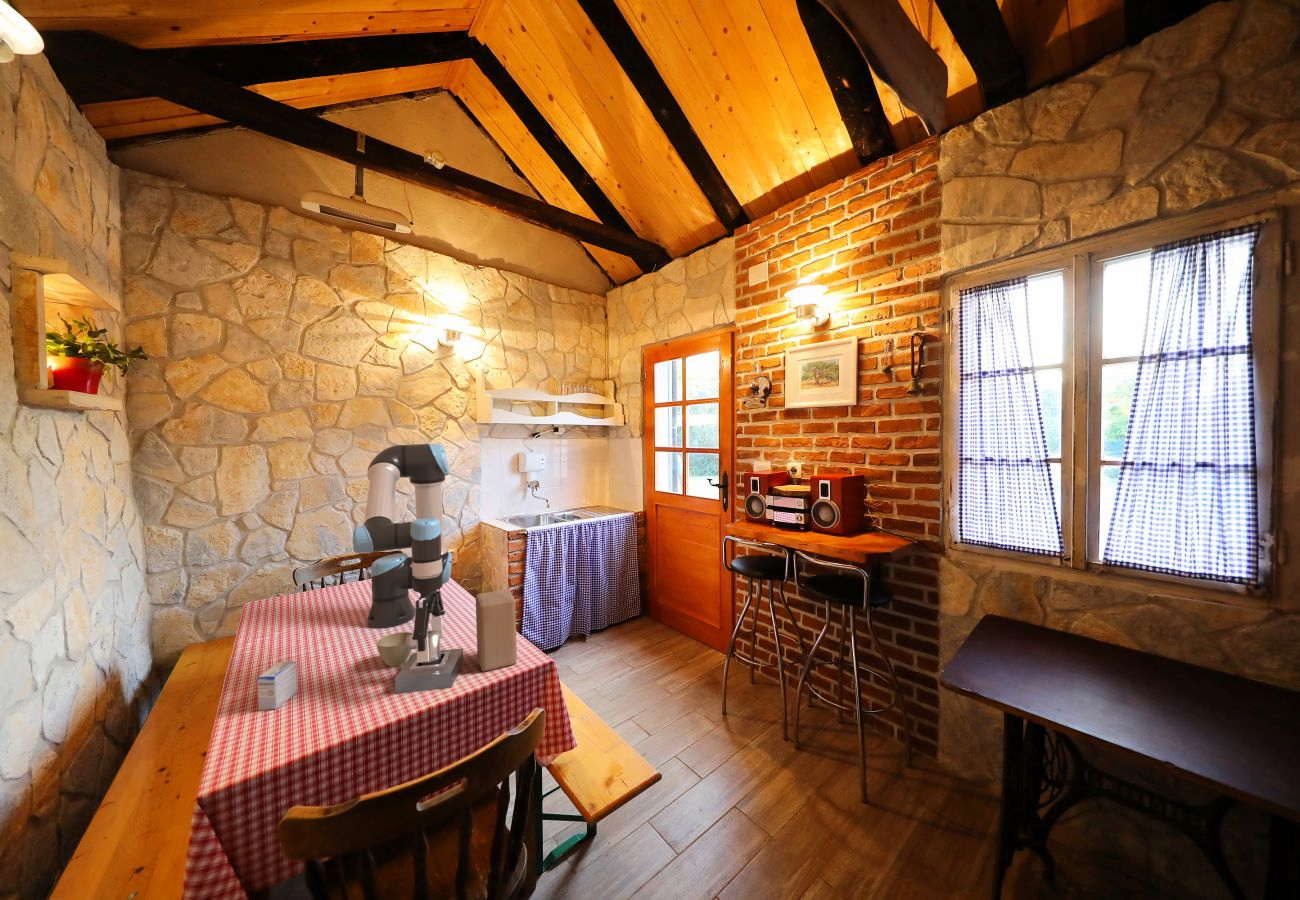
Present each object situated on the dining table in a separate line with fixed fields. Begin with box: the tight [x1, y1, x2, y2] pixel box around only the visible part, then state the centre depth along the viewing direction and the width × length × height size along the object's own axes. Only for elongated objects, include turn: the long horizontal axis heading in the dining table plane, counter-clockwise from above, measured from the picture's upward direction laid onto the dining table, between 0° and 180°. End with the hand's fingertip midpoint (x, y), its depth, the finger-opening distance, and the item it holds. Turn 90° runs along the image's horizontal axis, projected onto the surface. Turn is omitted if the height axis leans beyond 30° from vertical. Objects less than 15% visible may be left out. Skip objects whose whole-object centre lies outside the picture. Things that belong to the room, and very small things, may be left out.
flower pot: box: [376, 631, 414, 667], centre depth 137 cm, size 10×10×7 cm
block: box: [475, 588, 518, 672], centre depth 136 cm, size 10×10×20 cm
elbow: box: [406, 630, 442, 666], centre depth 129 cm, size 8×5×12 cm, turn 100°
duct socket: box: [394, 647, 464, 694], centre depth 129 cm, size 14×14×5 cm
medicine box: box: [256, 660, 299, 711], centre depth 118 cm, size 8×4×9 cm, turn 5°
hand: (430, 649), depth 129 cm, fingers open, 13 cm apart
